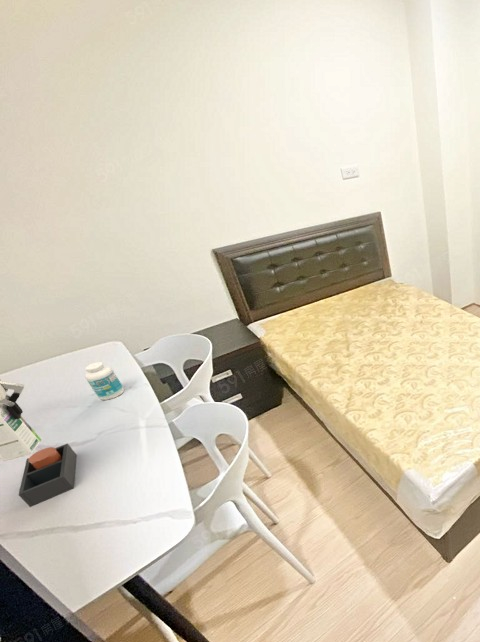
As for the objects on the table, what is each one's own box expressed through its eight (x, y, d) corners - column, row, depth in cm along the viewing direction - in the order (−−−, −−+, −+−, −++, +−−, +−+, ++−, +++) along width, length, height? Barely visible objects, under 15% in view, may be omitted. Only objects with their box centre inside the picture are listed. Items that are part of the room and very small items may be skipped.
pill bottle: (95, 402, 147) (74, 373, 140) (107, 390, 153) (88, 361, 147) (118, 398, 148) (99, 369, 142) (129, 387, 155) (111, 358, 148)
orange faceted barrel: (42, 482, 114) (26, 465, 111) (44, 470, 118) (29, 454, 115) (68, 471, 118) (54, 454, 114) (69, 460, 121) (56, 444, 118)
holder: (31, 508, 108) (18, 495, 105) (38, 472, 119) (26, 458, 116) (75, 490, 113) (63, 476, 110) (78, 456, 124) (67, 443, 121)
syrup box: (33, 453, 105) (-3, 412, 98) (2, 462, 103) (-37, 420, 95) (42, 440, 109) (8, 399, 102) (12, 448, 107) (-24, 406, 100)
